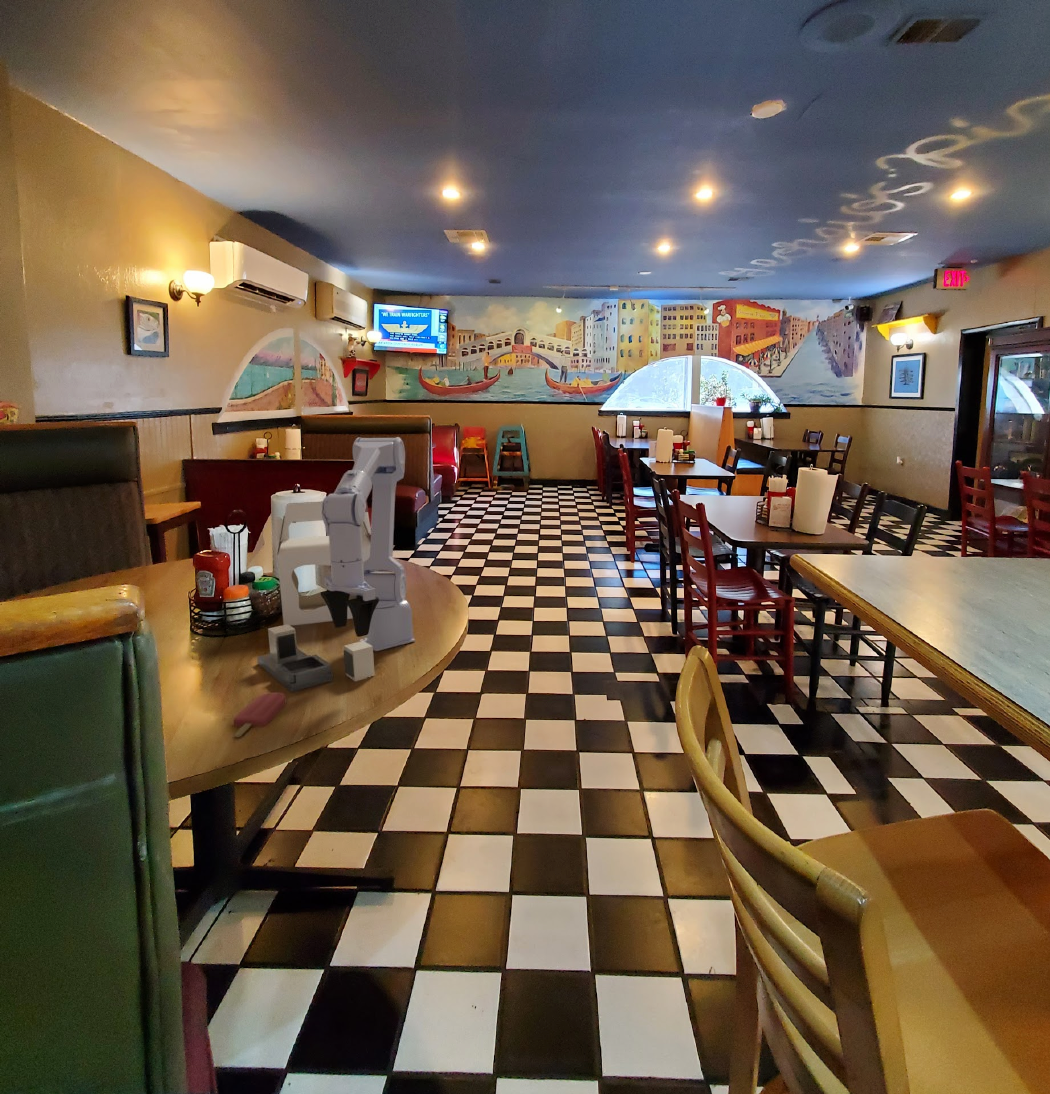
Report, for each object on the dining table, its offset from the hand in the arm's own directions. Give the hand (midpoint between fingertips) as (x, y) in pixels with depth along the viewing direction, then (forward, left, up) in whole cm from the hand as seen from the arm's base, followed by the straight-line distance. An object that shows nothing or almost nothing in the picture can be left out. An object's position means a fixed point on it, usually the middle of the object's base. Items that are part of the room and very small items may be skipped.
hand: (351, 630), depth 127 cm
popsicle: (+19, +4, -10) cm, 22 cm away
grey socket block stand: (+7, -12, -10) cm, 17 cm away
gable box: (-14, -42, -10) cm, 46 cm away
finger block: (-2, -1, -10) cm, 10 cm away
